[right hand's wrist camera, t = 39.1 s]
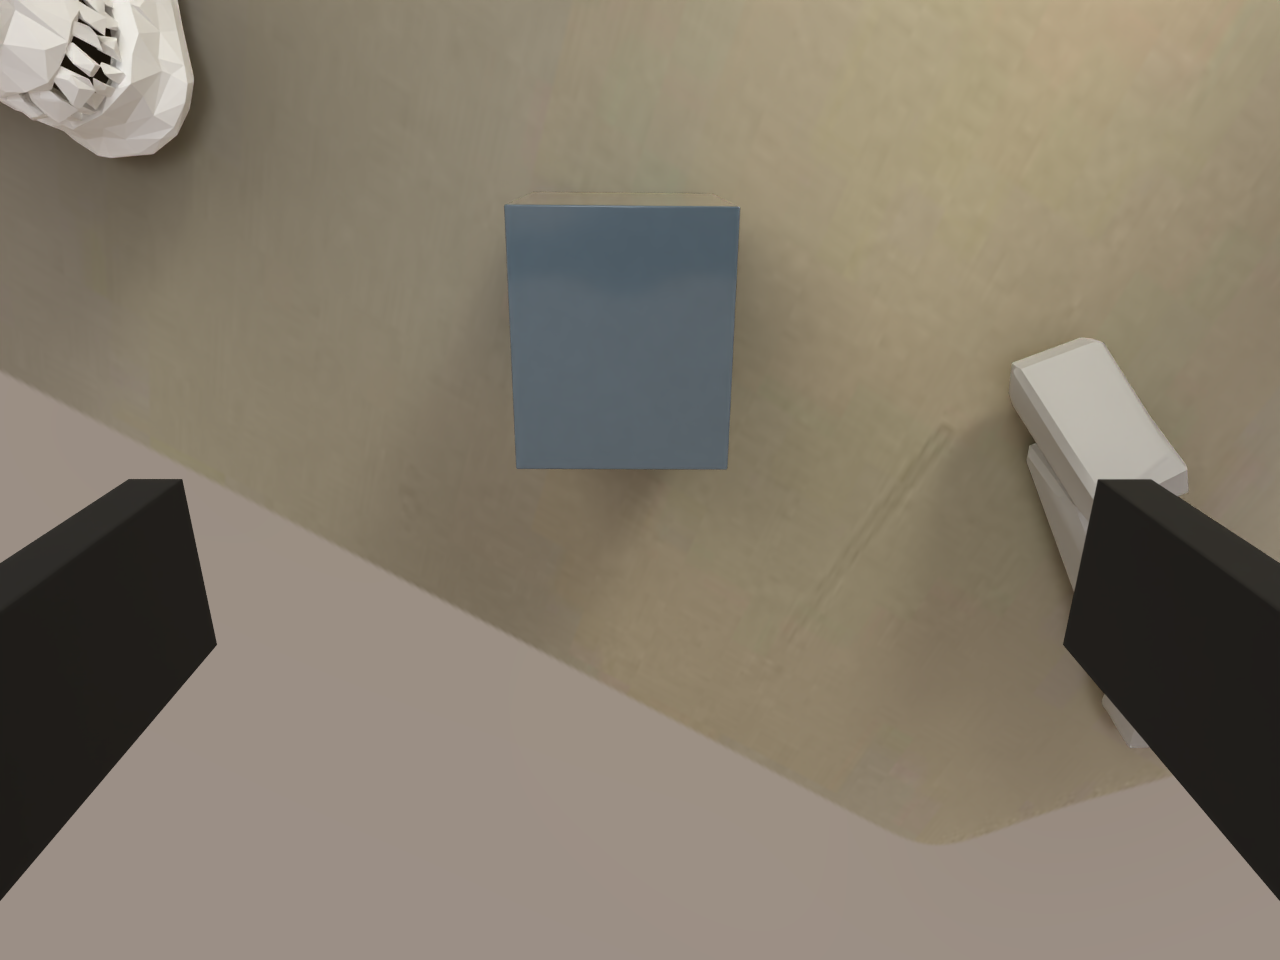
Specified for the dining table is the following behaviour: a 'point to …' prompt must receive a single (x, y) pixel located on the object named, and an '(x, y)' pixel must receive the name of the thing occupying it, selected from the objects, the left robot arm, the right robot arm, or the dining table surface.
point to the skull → (138, 72)
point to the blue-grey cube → (621, 328)
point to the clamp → (1087, 446)
